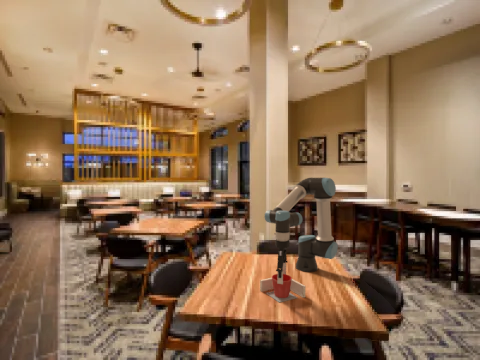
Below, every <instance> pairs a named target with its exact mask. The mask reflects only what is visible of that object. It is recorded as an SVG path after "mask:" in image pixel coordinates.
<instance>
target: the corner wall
mask: <svg viewBox="0 0 480 360" xmlns="http://www.w3.org/2000/svg"><path fill="white" fill-rule="evenodd" d="M271 290H274V289H273V282H272V277H269V278H263V279H260V280H259V291H260V292H267V291H271ZM290 291H291V292H293V293H295V295H298V296H300V297H301V298H306V285H305V284H302V283H301V282H299V281H297V280H296V279H293V278H292V281H291V287H290Z"/></svg>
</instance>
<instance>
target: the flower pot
mask: <svg viewBox="0 0 480 360" xmlns="http://www.w3.org/2000/svg"><path fill="white" fill-rule="evenodd" d="M271 278H272V282H273V289H272V290H273V291H274V294H275V296H276V297H279V298H287V297H288V296H289V293H291V292H290V291H291V290H290V287H291V281H292V279H293V278H292V276H291V275H289V274H287V273H286V274H283V284H277V273H276V274H273V275H272V276H271Z"/></svg>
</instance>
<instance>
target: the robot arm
mask: <svg viewBox="0 0 480 360" xmlns="http://www.w3.org/2000/svg"><path fill="white" fill-rule="evenodd" d="M336 189H337V188H336V184H335V181H334V179H332V178H331V177H307V178H304V179H302V180H301V181H299V182H298V183H296V185H294V186H293V188H292V190H291V192H289V193H288V194H287V195H286V196H285V197H284V198H283V199H282V200H281V201H280V202H279V204H277V205H276V206H275V208H273V209H268V210H266V211H265V213H264V220H265V222H266V223H270V224H273V225H274V224H275V232H274V235H275V240H274V243H275V247H276V248H278V250H277V266H276V270H275V272H277V273H276V274H277V284H283V274H286V275H287V263H288V262H289V261H288V260H287V249H289V248H290V239H291V238H290V235H291V234H290V233H291V232H290V228H293V227H298V226H300V225H301V224H302V223H303V216H302V214H301V213H299V212H295V211H293V212H290V211H291V210H292V208H293V207H295V205H297V203H299V201H300V200H301V199H302V198H305V197H306V196H308V195H313V199H314V200H315V201H316V218H317V219H316V220H317V222H316V223H317V236H316V235H313V234H306V235H304V234H303V235H300V236H299V237H298V247H297V248H298V253H297V254H298V256H297V260H296V263H295V269H297V270H299V271H300V272H301V271H302V272H308V273H312V272H317V271H318V269H319V267H318V263H317V260H316V257H320V258H322V259H325V260H326V259H328V260H332V259H334V258H335V257H336V255H337V253H338V247H339V245H338V242H336V241H335V238H334V237H333V235H332V216H331V200H332V199H333V196H335V194H336V191H337V190H336Z"/></svg>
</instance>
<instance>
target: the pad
mask: <svg viewBox="0 0 480 360" xmlns="http://www.w3.org/2000/svg"><path fill="white" fill-rule="evenodd" d="M265 294H266V295H268V296H269V297H270V298H271V299H273V300H275V301H276V302H277V303H283V302H287V301H291V300H295V299H298V296H296V295H294V294H293V293H291V292H290V293H289V296H288V297H287V298H279V297H276V296H275V294H274V290H273V291H269V292H266V293H265Z"/></svg>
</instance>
